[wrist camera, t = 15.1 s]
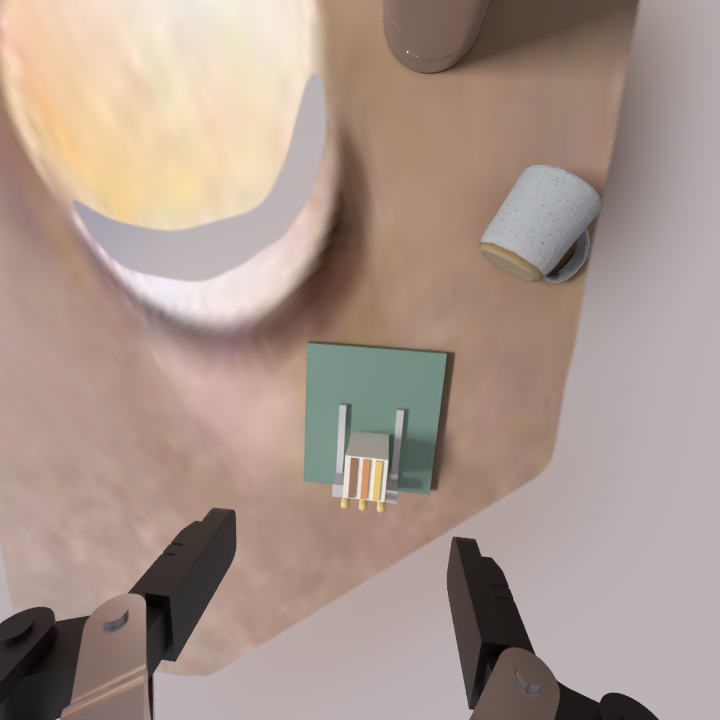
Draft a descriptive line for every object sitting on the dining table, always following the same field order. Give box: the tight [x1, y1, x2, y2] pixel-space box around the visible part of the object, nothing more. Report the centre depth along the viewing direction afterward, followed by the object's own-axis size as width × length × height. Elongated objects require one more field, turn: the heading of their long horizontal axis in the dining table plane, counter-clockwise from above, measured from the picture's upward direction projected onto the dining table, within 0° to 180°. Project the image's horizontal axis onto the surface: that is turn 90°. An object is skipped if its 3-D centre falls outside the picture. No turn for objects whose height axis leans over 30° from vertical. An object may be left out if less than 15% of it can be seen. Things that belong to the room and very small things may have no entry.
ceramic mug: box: [480, 164, 602, 283], centre depth 31 cm, size 11×8×8 cm
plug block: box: [343, 431, 389, 502], centre depth 38 cm, size 5×4×6 cm
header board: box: [304, 342, 447, 513], centre depth 38 cm, size 18×16×6 cm
